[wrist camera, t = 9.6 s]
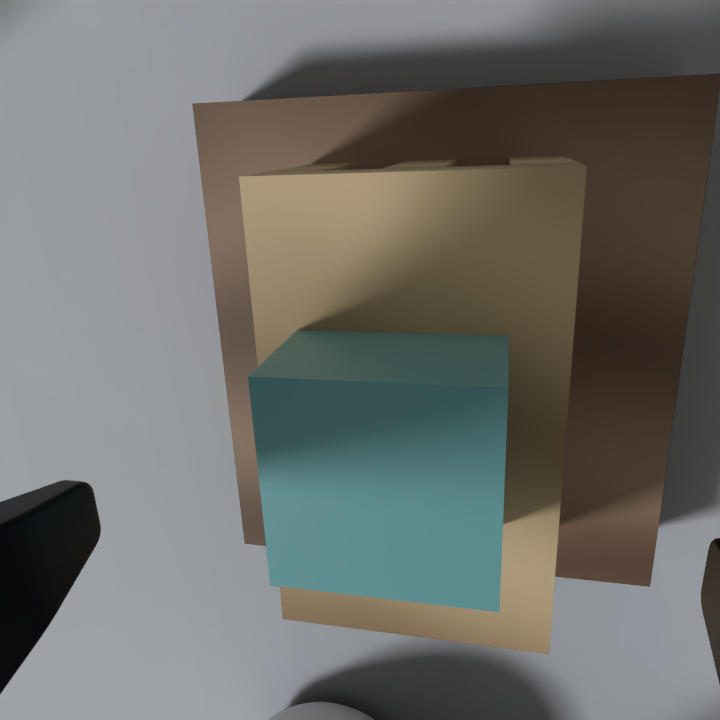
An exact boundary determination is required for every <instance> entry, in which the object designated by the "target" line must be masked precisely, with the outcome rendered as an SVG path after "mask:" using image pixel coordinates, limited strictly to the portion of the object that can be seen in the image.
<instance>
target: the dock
mask: <svg viewBox="0 0 720 720" xmlns="http://www.w3.org/2000/svg"><path fill="white" fill-rule="evenodd" d="M719 91H720V74H708V75H690V76H673V77H655V78H637V79H620V80H602V81H584V82H567V83H549V84H531V85H514V86H496V87H478V88H461V89H443V90H425V91H408V92H390V93H372V94H355V95H337V96H319V97H302V98H284V99H267V100H249V101H231V102H214V103H196V104H193V112H194V121H195V129H196V137H197V146H198V154H199V163H200V171H201V179H202V188H203V196H204V205H205V213H206V221H207V230H208V238H209V247H210V255H211V263H212V272H213V280H214V289H215V297H216V305H217V314H218V322H219V331H220V339H221V347H222V356H223V364H224V373H225V381H226V389H227V398H228V406H229V415H230V423H231V431H232V440H233V448H234V457H235V465H236V473H237V482H238V490H239V499H240V507H241V515H242V524H243V532H244V541H245V544H253V545H263V546H266V540H265V530H264V521H263V512H262V503H261V494H260V484H259V475H258V466H257V457H256V448H255V438H254V429H253V420H252V411H251V402H250V392H249V383H248V376H249V375H250V374H251V373H252V372H253V371H254V370H255V369H256V368H257V367H258V363H257V353H256V343H255V333H254V323H253V313H252V303H251V293H250V283H249V273H248V263H247V253H246V243H245V233H244V223H243V213H242V203H241V193H240V183H239V176H245V175H250V174H256V173H262V172H268V171H274V170H280V169H286V168H291V167H297V166H303V165H309V164H334V163H358V170H359V169H382V168H385V167H389V166H392V165H395V164H399V163H402V162H405V161H426V160H456V159H457V166H490V165H509V160H510V158H517V157H547V156H565V157H567V158H570V159H572V160H574V161H576V162H578V163H581V164H583V165H585V166H587V171H586V184H585V197H584V210H583V223H582V236H581V249H580V261H579V274H578V287H577V300H576V313H575V326H574V339H573V351H572V364H571V377H570V390H569V403H568V416H567V429H566V441H565V454H564V467H563V480H562V493H561V506H560V519H559V531H558V544H557V557H556V570H555V577H564V578H574V579H583V580H593V581H602V582H612V583H621V584H630V585H640V586H649V587H650V583H651V575H652V568H653V561H654V554H655V547H656V540H657V533H658V526H659V518H660V511H661V504H662V497H663V490H664V483H665V476H666V468H667V461H668V454H669V447H670V440H671V433H672V426H673V419H674V411H675V404H676V397H677V390H678V383H679V376H680V369H681V362H682V354H683V347H684V340H685V333H686V326H687V319H688V312H689V305H690V297H691V290H692V283H693V276H694V269H695V262H696V255H697V248H698V240H699V233H700V226H701V219H702V212H703V205H704V198H705V190H706V183H707V176H708V169H709V162H710V155H711V148H712V141H713V133H714V126H715V119H716V112H717V105H718V98H719Z"/></svg>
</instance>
